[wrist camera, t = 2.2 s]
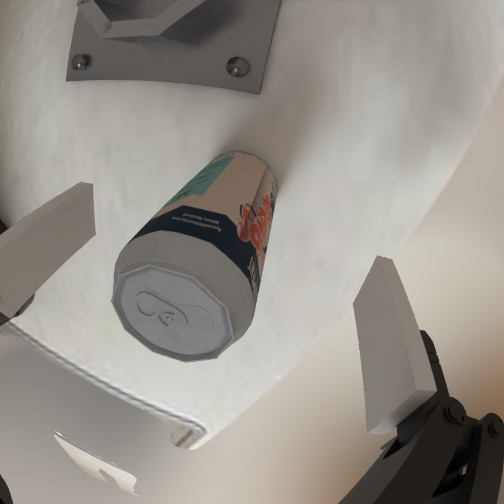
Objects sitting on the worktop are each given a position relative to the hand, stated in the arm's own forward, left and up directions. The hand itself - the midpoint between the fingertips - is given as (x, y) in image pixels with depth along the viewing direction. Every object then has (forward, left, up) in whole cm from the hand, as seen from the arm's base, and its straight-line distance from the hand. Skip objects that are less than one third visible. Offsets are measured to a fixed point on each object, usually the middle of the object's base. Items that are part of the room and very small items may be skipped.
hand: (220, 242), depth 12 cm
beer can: (0, 0, -7) cm, 7 cm away
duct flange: (-7, +13, -7) cm, 17 cm away
